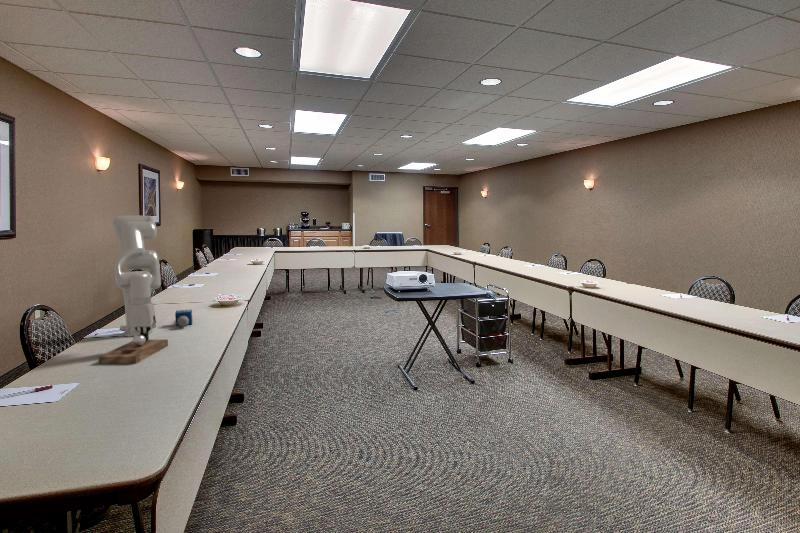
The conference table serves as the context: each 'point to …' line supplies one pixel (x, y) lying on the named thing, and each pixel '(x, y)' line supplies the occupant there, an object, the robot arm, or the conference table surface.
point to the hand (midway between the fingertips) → (144, 341)
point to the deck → (132, 352)
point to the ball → (139, 340)
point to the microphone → (183, 317)
